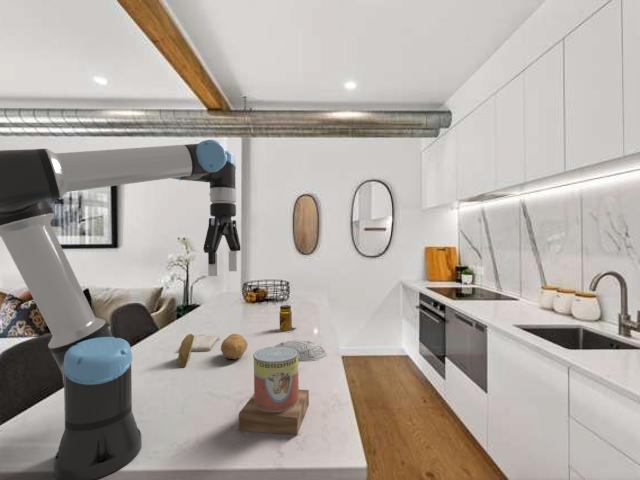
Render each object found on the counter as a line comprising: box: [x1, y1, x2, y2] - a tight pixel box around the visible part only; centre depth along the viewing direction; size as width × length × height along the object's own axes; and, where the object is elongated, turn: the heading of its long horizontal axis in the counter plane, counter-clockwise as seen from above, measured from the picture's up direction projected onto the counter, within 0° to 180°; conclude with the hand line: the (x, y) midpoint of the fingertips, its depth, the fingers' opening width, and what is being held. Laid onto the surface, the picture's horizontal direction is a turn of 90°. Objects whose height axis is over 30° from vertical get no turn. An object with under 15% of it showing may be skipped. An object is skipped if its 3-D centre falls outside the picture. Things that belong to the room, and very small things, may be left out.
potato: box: [220, 333, 248, 361], centre depth 127 cm, size 10×14×8 cm
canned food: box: [253, 345, 300, 412], centre depth 84 cm, size 11×11×12 cm
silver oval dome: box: [273, 339, 328, 363], centre depth 130 cm, size 16×25×7 cm, turn 93°
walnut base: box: [238, 389, 310, 436], centre depth 84 cm, size 14×14×4 cm
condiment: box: [277, 304, 297, 333], centre depth 166 cm, size 7×8×12 cm
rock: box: [176, 333, 195, 368], centre depth 123 cm, size 11×9×10 cm
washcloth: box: [191, 334, 221, 353], centre depth 143 cm, size 12×18×3 cm, turn 5°
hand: (224, 273), depth 101 cm, fingers open, 13 cm apart
